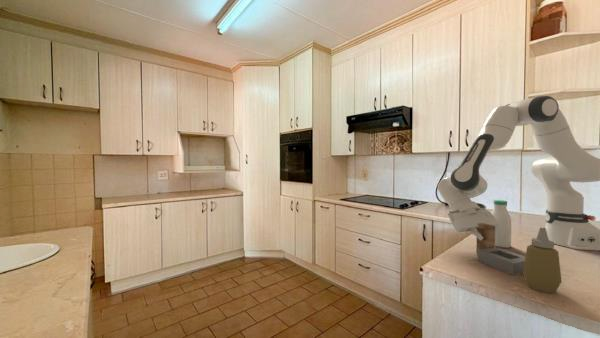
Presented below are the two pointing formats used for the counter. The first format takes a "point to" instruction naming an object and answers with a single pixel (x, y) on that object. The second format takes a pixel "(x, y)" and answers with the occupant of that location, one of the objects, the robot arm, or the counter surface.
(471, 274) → the counter surface
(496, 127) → the robot arm
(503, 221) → the milk bottle
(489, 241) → the wooden block
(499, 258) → the grey hollow block
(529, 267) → the squeeze bottle
